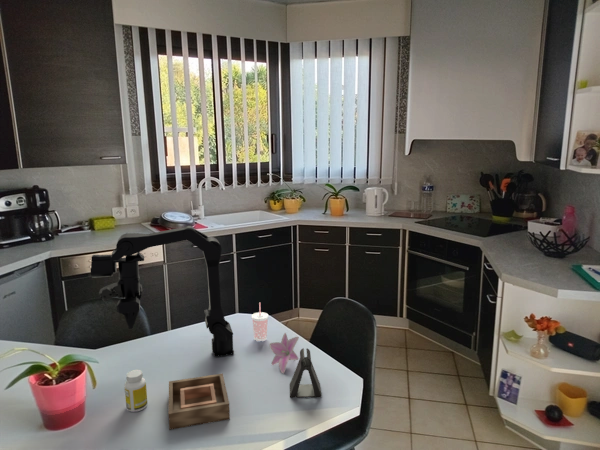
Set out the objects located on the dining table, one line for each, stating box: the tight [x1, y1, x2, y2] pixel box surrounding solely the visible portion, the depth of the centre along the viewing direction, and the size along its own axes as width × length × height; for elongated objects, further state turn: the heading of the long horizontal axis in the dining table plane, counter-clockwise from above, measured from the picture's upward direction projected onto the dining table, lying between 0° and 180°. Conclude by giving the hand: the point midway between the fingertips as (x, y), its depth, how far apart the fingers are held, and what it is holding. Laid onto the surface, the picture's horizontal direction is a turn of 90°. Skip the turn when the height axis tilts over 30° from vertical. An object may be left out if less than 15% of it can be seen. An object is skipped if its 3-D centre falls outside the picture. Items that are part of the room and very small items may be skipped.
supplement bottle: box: [124, 369, 148, 413], centre depth 115 cm, size 5×5×10 cm
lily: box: [268, 332, 300, 375], centre depth 137 cm, size 12×12×10 cm
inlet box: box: [167, 373, 231, 431], centre depth 115 cm, size 15×15×4 cm
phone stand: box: [289, 347, 322, 399], centre depth 122 cm, size 9×6×12 cm, turn 91°
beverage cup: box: [251, 302, 269, 342], centre depth 154 cm, size 6×6×14 cm
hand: (131, 322), depth 135 cm, fingers open, 9 cm apart
